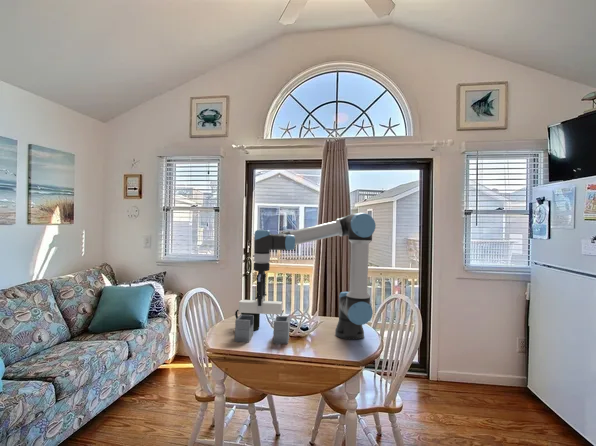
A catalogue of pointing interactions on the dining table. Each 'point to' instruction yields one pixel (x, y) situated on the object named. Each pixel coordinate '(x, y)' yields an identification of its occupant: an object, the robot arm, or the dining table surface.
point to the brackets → (246, 329)
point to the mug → (255, 321)
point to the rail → (268, 307)
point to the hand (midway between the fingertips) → (260, 310)
